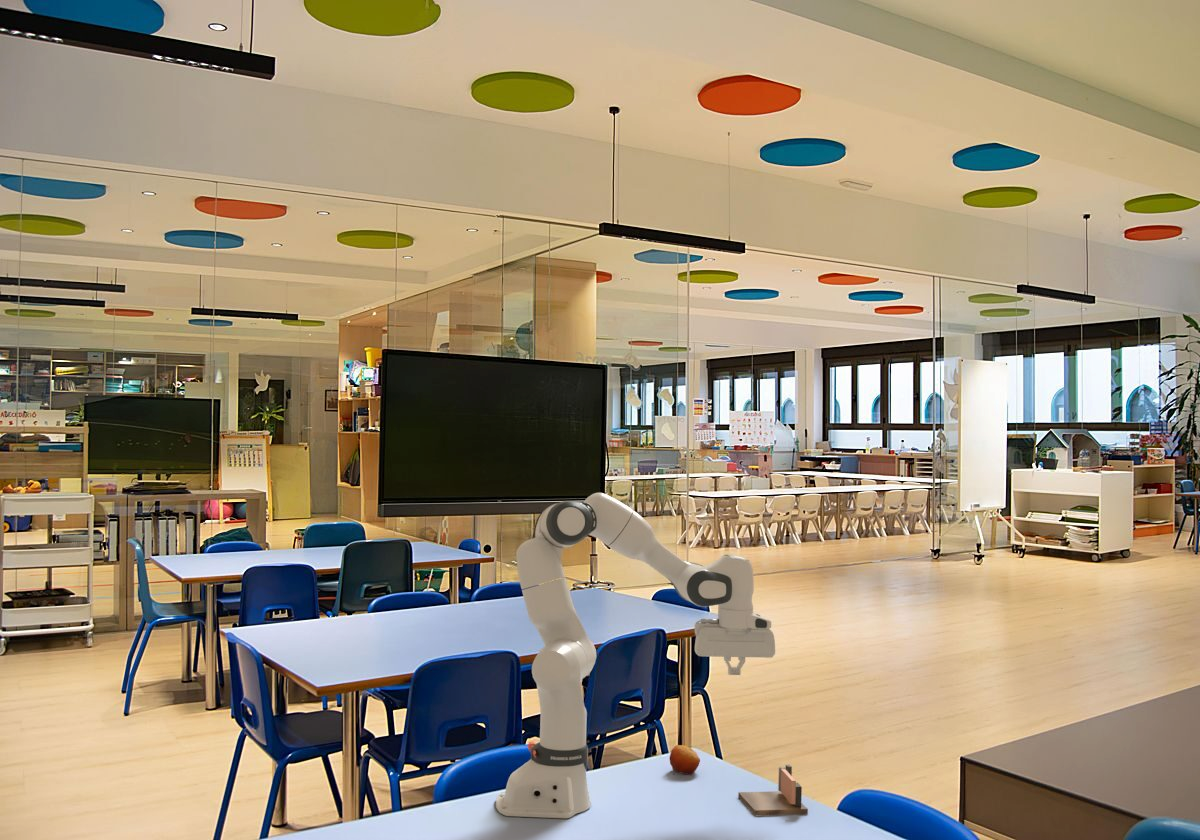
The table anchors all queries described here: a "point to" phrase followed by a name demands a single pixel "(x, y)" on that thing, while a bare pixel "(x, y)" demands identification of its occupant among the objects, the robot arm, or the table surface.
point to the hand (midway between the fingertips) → (734, 674)
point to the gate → (787, 785)
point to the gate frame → (773, 801)
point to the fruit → (684, 760)
